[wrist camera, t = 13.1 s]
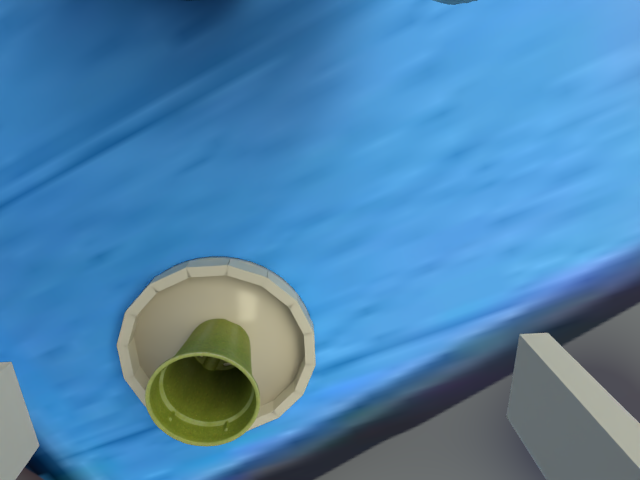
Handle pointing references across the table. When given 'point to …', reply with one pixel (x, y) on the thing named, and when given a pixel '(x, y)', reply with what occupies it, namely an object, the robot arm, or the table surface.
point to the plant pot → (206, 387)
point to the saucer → (233, 305)
